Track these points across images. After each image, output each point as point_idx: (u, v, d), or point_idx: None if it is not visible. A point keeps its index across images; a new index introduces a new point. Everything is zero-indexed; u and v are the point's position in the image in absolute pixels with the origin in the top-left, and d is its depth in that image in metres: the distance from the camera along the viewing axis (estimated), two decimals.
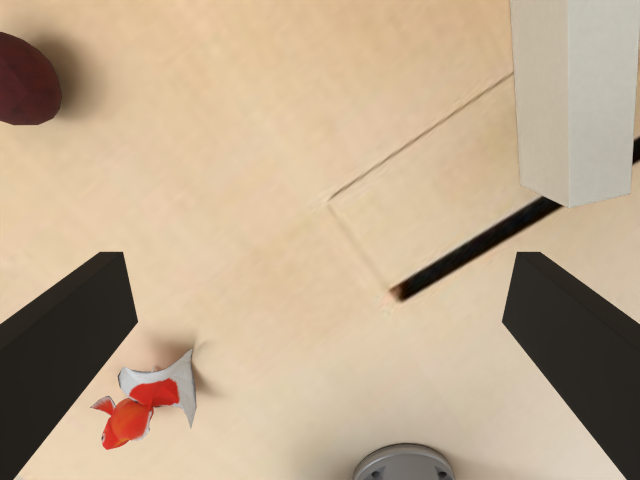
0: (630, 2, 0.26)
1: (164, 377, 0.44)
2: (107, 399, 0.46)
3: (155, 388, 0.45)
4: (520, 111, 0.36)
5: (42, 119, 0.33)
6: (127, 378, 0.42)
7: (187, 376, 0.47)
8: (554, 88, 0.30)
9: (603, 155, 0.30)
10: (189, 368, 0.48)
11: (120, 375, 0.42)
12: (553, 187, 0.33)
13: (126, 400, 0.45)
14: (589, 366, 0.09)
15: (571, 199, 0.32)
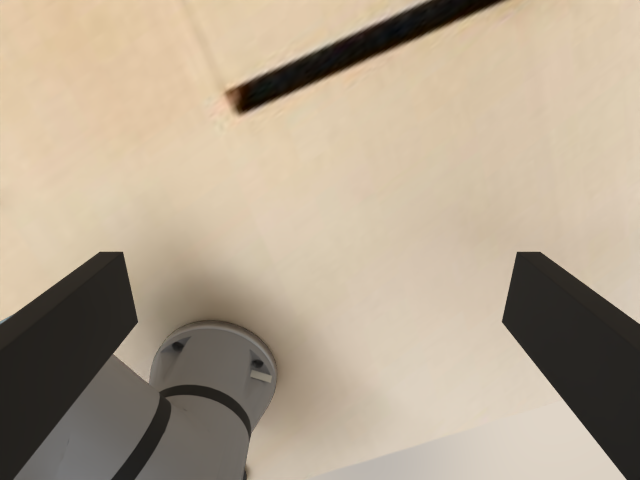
0: None
1: None
2: None
3: None
4: None
5: None
6: None
7: None
8: None
9: None
10: None
11: None
12: None
13: None
14: (589, 366, 0.09)
15: None
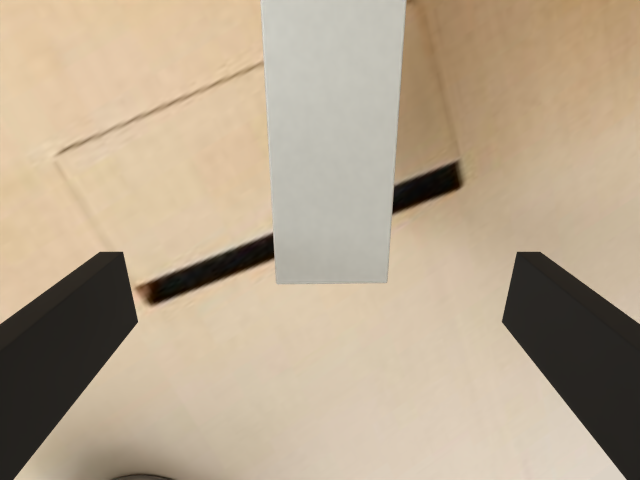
0: None
1: None
2: None
3: None
4: None
5: None
6: None
7: None
8: None
9: (337, 200, 0.15)
10: None
11: None
12: None
13: None
14: (589, 366, 0.09)
15: (279, 270, 0.17)
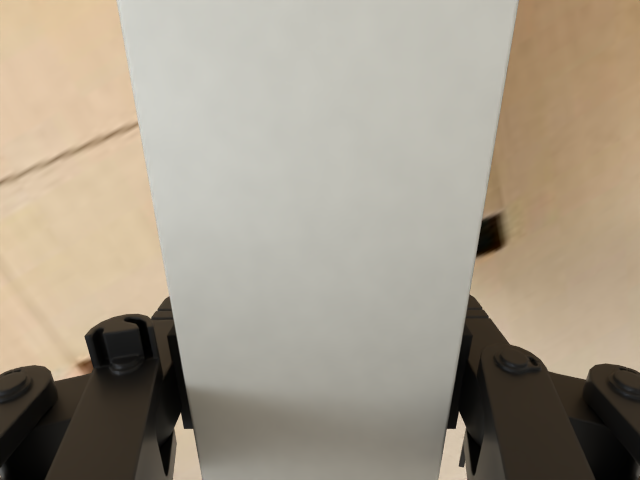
0: None
1: None
2: None
3: None
4: None
5: None
6: None
7: None
8: None
9: (330, 421, 0.07)
10: None
11: None
12: None
13: None
14: None
15: None
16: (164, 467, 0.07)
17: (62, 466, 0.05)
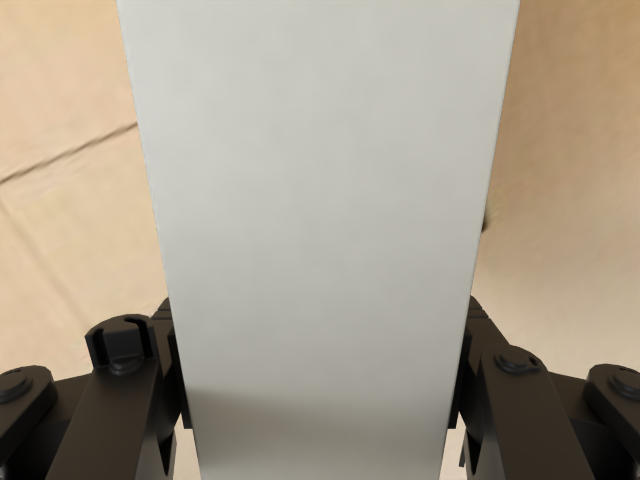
0: None
1: None
2: None
3: None
4: None
5: None
6: None
7: None
8: None
9: (330, 424, 0.07)
10: None
11: None
12: None
13: None
14: None
15: None
16: (164, 467, 0.07)
17: (62, 466, 0.05)
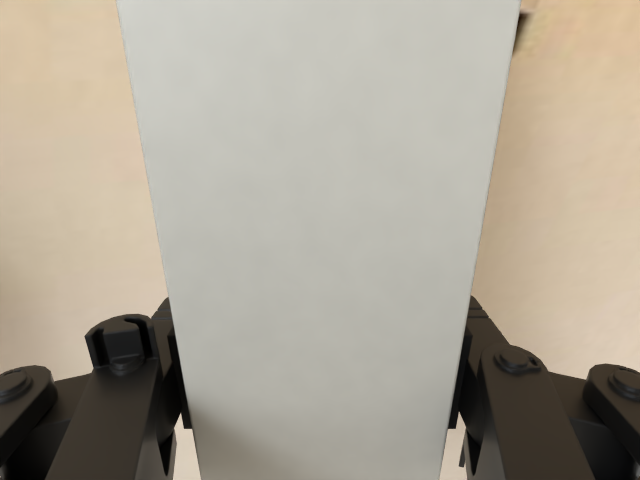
0: None
1: None
2: None
3: None
4: None
5: None
6: None
7: None
8: None
9: (330, 424, 0.07)
10: None
11: None
12: None
13: None
14: None
15: None
16: (164, 467, 0.07)
17: (62, 466, 0.05)
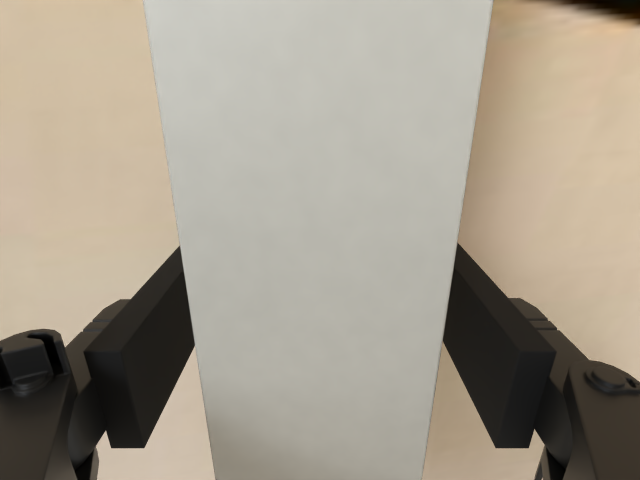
0: None
1: None
2: None
3: None
4: None
5: None
6: None
7: None
8: None
9: (327, 394, 0.08)
10: None
11: None
12: None
13: None
14: (465, 329, 0.10)
15: None
16: None
17: None
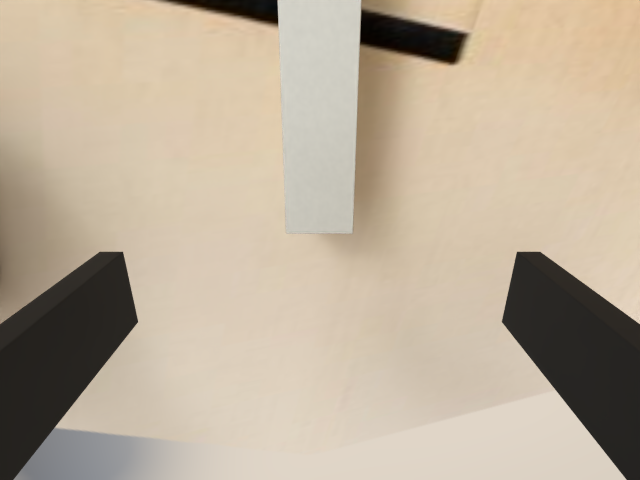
0: (348, 11, 0.23)
1: None
2: None
3: None
4: None
5: None
6: None
7: None
8: None
9: (322, 183, 0.27)
10: None
11: None
12: None
13: None
14: (590, 367, 0.09)
15: (288, 224, 0.28)
16: None
17: None
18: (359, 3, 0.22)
